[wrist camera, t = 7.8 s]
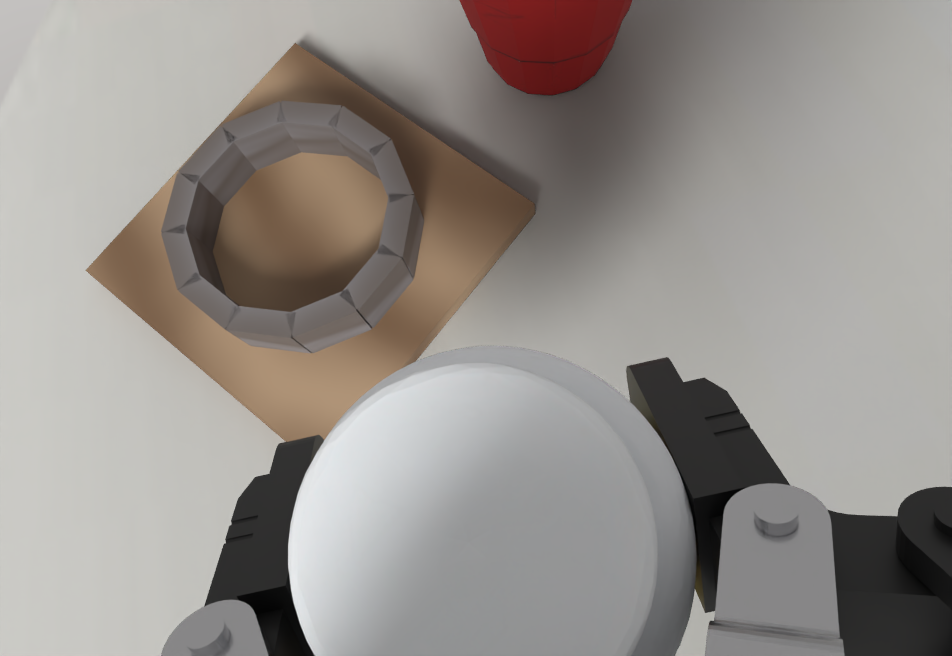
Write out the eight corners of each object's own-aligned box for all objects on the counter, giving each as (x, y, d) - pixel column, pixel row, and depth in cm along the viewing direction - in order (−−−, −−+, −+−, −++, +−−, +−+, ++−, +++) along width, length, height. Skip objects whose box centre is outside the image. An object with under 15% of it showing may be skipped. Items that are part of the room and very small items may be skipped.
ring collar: (301, 56, 36) (276, 6, 32) (535, 213, 32) (533, 175, 29) (98, 278, 34) (48, 249, 30) (325, 471, 30) (298, 463, 27)
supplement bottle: (506, 377, 19) (454, 196, 9) (686, 531, 17) (861, 519, 7) (353, 550, 18) (108, 561, 8) (528, 726, 16) (490, 1000, 7)
